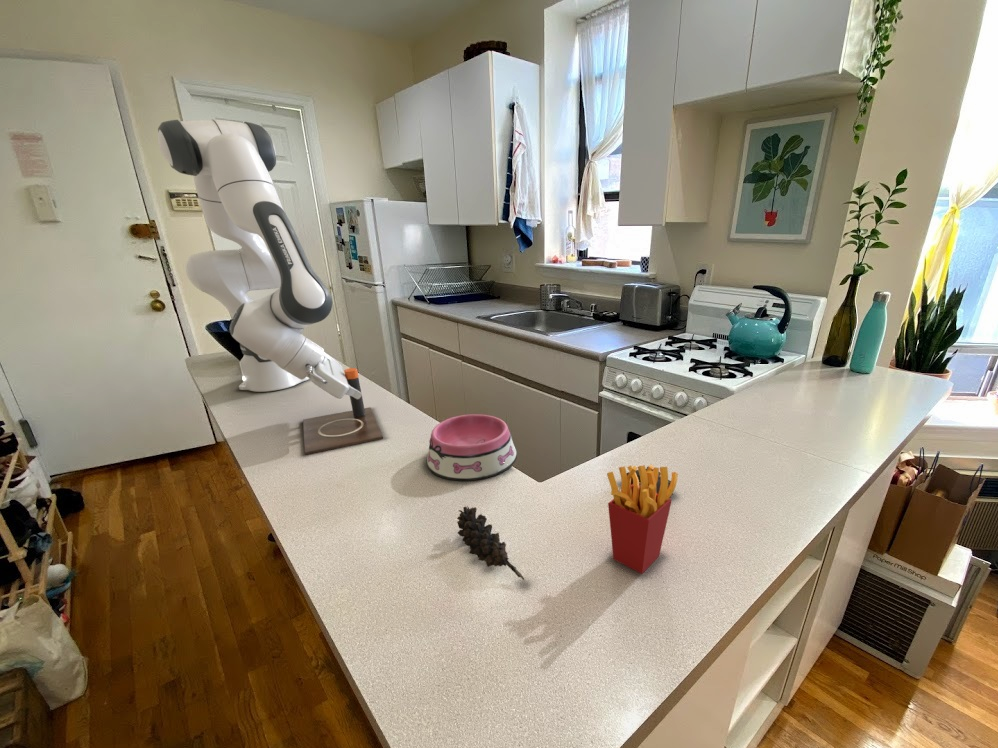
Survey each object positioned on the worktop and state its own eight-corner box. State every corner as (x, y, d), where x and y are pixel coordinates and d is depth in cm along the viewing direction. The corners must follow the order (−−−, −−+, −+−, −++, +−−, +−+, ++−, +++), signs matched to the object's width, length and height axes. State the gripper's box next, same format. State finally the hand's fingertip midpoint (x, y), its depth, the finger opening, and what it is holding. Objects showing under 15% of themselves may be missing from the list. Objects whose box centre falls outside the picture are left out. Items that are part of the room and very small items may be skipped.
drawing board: (303, 421, 115) (302, 418, 115) (370, 409, 122) (370, 406, 122) (305, 455, 99) (304, 451, 99) (383, 438, 106) (382, 435, 105)
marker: (352, 414, 118) (343, 369, 113) (364, 411, 119) (356, 367, 114) (354, 418, 115) (344, 372, 110) (366, 415, 116) (357, 370, 112)
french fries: (644, 581, 63) (652, 487, 57) (595, 555, 68) (597, 467, 62) (674, 548, 70) (684, 461, 64) (627, 526, 75) (632, 443, 69)
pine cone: (447, 533, 74) (444, 505, 72) (476, 521, 76) (473, 494, 74) (499, 601, 61) (496, 570, 58) (532, 584, 63) (530, 554, 61)
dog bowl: (534, 461, 95) (533, 431, 92) (451, 492, 85) (447, 459, 82) (489, 431, 108) (487, 404, 106) (413, 454, 98) (408, 425, 95)
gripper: (316, 360, 99) (372, 395, 107) (312, 340, 115) (361, 371, 123) (297, 383, 99) (355, 416, 107) (296, 360, 115) (346, 389, 123)
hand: (358, 392), depth 115 cm, fingers open, 5 cm apart
